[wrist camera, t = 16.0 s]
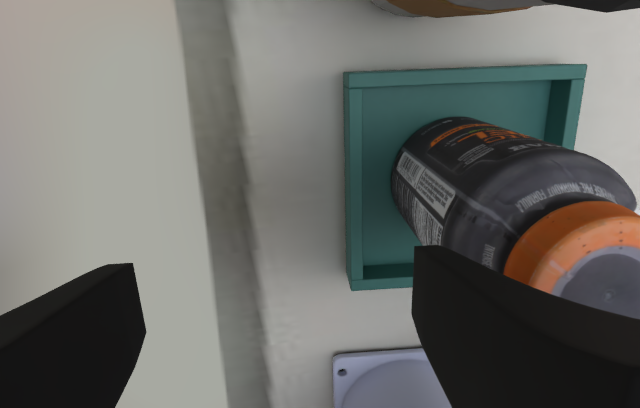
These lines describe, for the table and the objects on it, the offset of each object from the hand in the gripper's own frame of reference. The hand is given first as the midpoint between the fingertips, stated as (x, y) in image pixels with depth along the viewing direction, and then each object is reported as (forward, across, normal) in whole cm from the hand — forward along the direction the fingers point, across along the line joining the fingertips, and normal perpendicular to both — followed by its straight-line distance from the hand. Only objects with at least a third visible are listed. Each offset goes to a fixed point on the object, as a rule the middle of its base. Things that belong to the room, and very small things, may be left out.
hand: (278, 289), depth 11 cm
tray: (+10, -8, 0) cm, 13 cm away
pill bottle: (+10, -8, 0) cm, 13 cm away
